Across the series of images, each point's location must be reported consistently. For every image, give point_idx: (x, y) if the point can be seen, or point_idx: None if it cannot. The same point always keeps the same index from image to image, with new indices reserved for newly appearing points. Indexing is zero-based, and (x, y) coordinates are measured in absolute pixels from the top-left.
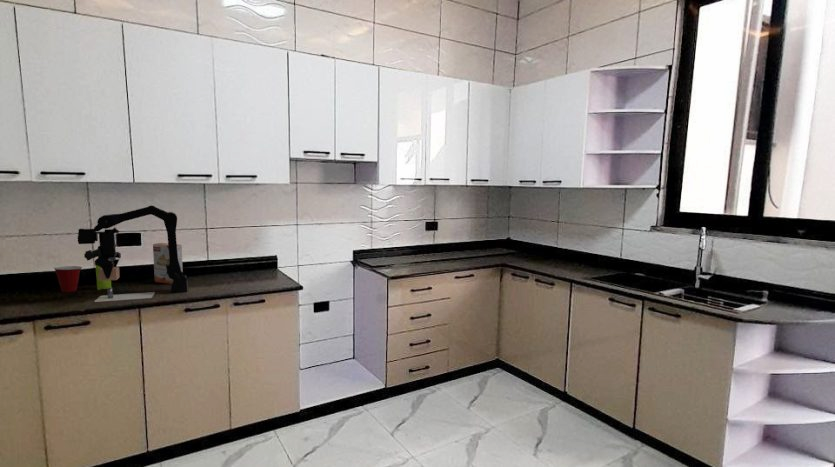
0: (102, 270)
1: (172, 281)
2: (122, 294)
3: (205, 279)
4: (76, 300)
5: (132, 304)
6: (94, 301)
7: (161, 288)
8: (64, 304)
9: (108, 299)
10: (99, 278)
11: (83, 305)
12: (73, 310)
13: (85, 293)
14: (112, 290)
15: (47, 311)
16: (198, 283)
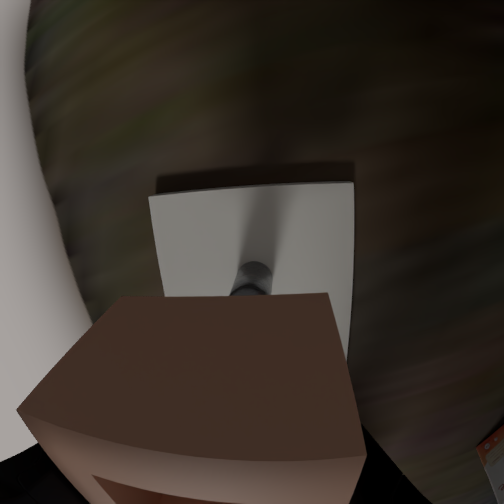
0: (55, 449)
1: (488, 449)
2: (342, 330)
3: (482, 483)
4: (304, 30)
5: None
6: (160, 195)
7: (442, 433)
8: (197, 2)
9: (202, 277)
10: (106, 320)
11: (135, 135)
12: (45, 135)
13: (494, 59)
14: None
15: (64, 13)
16: (440, 491)
